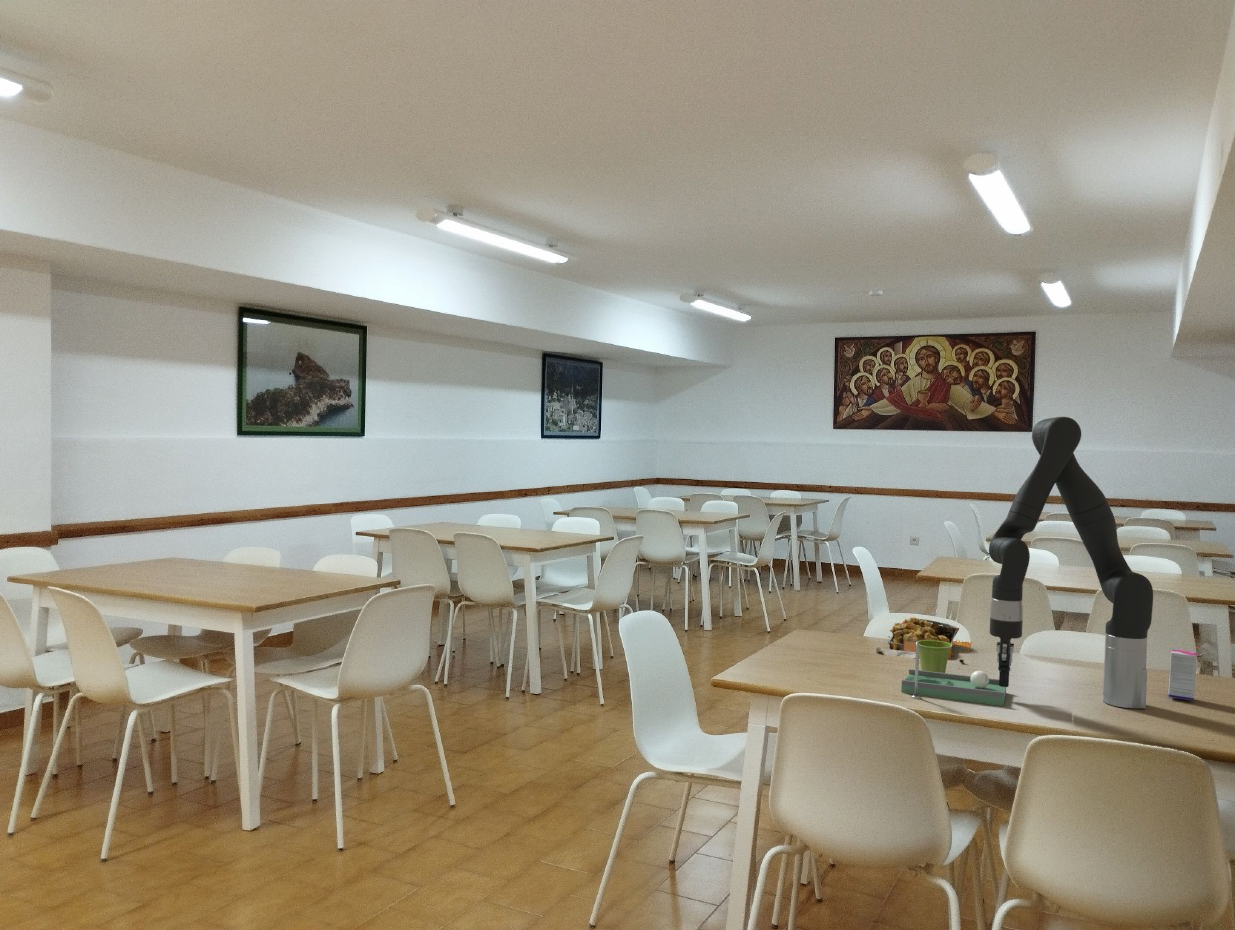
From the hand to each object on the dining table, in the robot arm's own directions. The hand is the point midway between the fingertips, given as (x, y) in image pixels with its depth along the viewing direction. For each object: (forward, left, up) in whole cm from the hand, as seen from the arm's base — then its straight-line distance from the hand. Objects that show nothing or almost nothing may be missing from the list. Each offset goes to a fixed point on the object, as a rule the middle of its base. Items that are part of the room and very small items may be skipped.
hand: (1003, 686), depth 235 cm
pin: (+20, +10, -3) cm, 22 cm away
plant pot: (+19, -18, -4) cm, 26 cm away
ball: (+6, 0, +1) cm, 6 cm away
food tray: (+25, -53, -4) cm, 59 cm away
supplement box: (-41, -27, -4) cm, 49 cm away
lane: (+12, 0, -3) cm, 12 cm away
